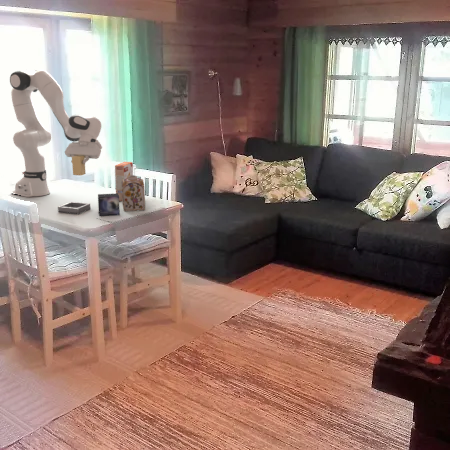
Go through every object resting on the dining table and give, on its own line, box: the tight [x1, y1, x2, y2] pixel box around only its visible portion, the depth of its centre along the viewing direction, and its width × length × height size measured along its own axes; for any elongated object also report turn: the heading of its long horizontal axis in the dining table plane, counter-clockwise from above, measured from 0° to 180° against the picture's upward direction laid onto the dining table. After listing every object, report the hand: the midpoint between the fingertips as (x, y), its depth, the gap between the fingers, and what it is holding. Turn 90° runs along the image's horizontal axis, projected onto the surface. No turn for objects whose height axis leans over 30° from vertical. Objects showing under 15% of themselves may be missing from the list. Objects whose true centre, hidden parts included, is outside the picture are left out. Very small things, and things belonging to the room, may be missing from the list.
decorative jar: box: [121, 174, 146, 212], centre depth 294 cm, size 12×12×18 cm
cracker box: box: [114, 161, 134, 202], centre depth 314 cm, size 14×6×21 cm, turn 168°
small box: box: [97, 193, 121, 217], centre depth 282 cm, size 11×6×10 cm, turn 107°
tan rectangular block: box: [71, 156, 86, 176], centre depth 296 cm, size 5×4×10 cm
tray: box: [57, 201, 91, 215], centre depth 289 cm, size 12×12×3 cm
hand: (77, 163), depth 295 cm, fingers closed on tan rectangular block, 5 cm apart
